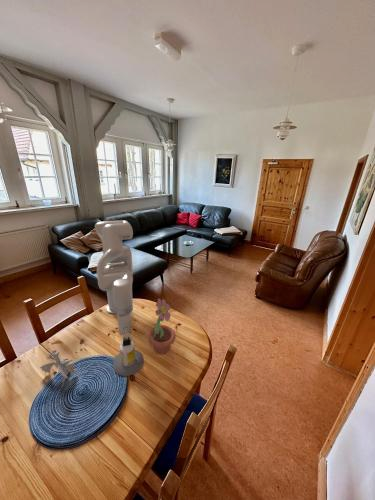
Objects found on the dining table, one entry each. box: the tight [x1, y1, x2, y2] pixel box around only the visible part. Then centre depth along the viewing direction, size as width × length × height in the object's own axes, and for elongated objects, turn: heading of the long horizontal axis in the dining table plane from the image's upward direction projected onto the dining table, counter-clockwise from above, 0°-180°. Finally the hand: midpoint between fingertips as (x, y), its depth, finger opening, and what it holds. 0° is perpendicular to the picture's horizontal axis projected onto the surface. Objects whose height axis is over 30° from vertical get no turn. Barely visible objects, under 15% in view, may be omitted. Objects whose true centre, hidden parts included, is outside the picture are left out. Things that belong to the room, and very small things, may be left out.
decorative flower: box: [147, 298, 176, 355], centre depth 101 cm, size 15×14×30 cm
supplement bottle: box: [119, 337, 136, 366], centre depth 96 cm, size 7×7×13 cm
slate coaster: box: [112, 349, 144, 377], centre depth 99 cm, size 14×14×1 cm
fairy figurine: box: [39, 349, 78, 387], centre depth 88 cm, size 10×18×14 cm, turn 64°
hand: (126, 336), depth 93 cm, fingers open, 9 cm apart
